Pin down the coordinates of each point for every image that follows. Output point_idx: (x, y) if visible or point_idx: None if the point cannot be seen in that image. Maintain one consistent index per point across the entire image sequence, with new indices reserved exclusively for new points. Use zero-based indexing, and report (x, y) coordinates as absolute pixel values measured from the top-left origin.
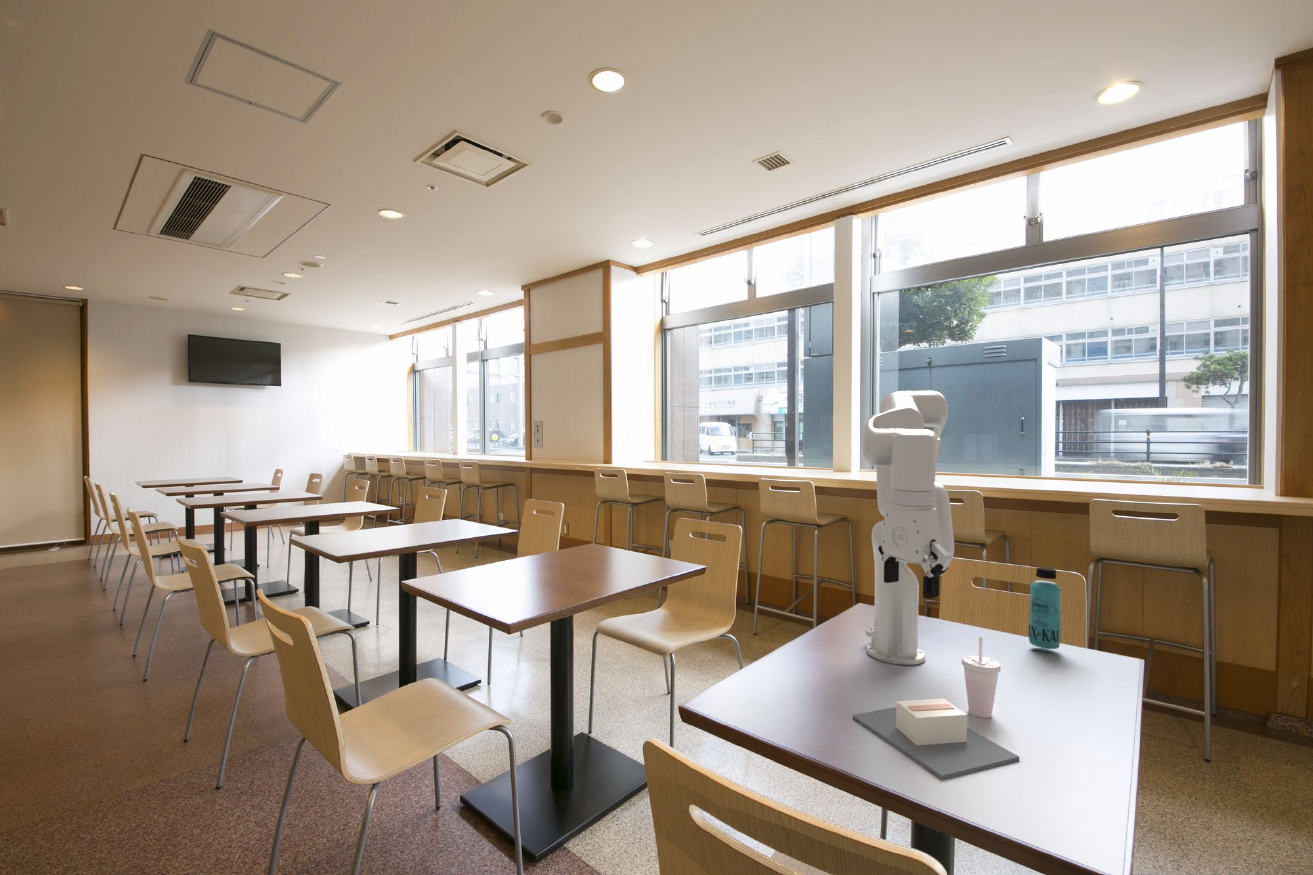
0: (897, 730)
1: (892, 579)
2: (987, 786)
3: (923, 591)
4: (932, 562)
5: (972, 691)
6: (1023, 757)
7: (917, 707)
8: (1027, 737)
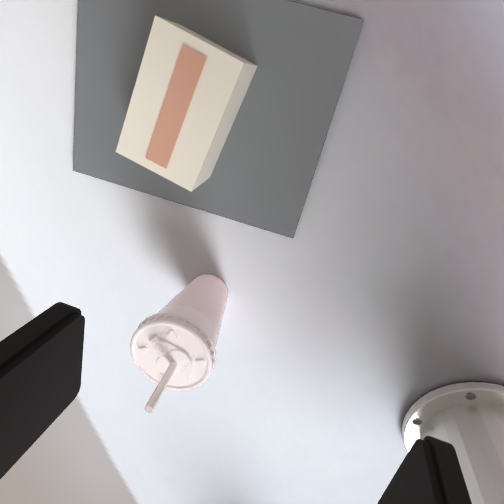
0: (246, 52)
1: (400, 490)
2: (40, 18)
3: (48, 327)
4: None
5: (195, 294)
6: (81, 186)
7: (188, 75)
8: (119, 262)
